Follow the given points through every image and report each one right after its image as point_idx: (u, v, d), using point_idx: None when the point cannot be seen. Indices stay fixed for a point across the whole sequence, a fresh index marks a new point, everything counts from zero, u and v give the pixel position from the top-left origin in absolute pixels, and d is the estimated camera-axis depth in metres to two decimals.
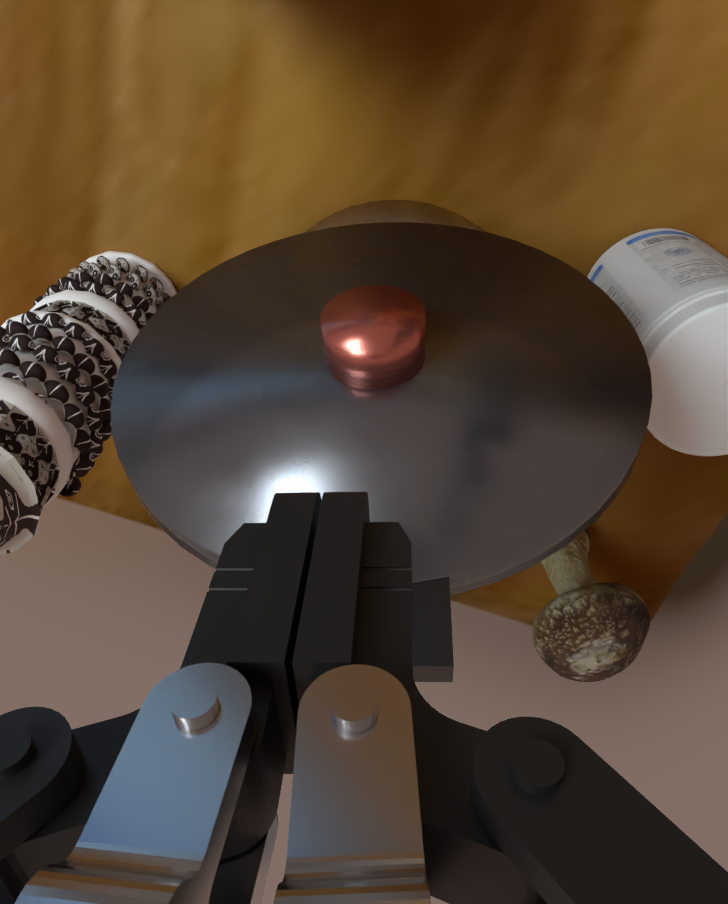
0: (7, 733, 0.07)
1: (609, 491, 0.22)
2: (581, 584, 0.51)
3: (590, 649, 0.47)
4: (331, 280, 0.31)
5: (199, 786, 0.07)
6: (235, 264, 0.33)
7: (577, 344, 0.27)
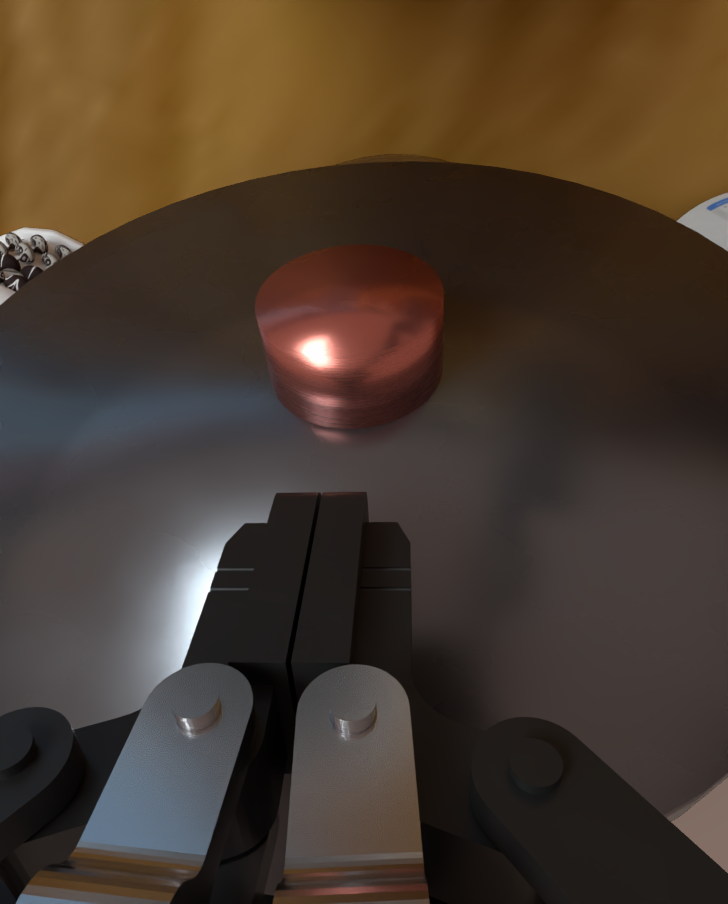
0: (9, 733, 0.07)
1: None
2: None
3: None
4: (291, 245, 0.20)
5: (200, 786, 0.07)
6: (147, 224, 0.21)
7: (707, 345, 0.15)
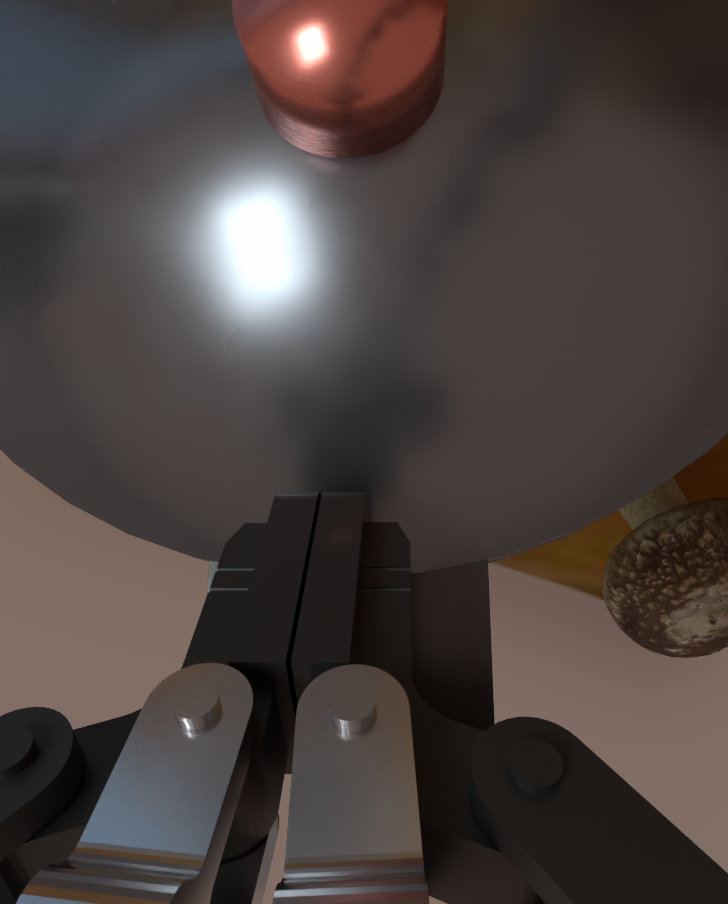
0: (8, 734, 0.07)
1: None
2: None
3: (701, 602, 0.29)
4: None
5: (200, 786, 0.07)
6: None
7: None
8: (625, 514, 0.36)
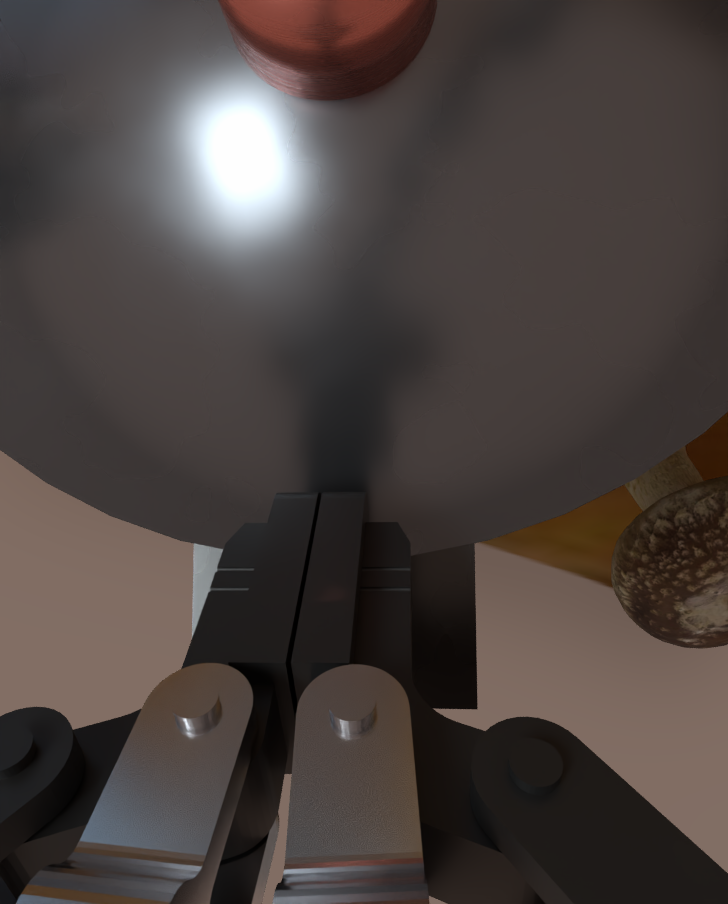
0: (9, 734, 0.07)
1: None
2: None
3: (720, 588, 0.27)
4: None
5: (200, 786, 0.07)
6: None
7: None
8: (635, 494, 0.34)
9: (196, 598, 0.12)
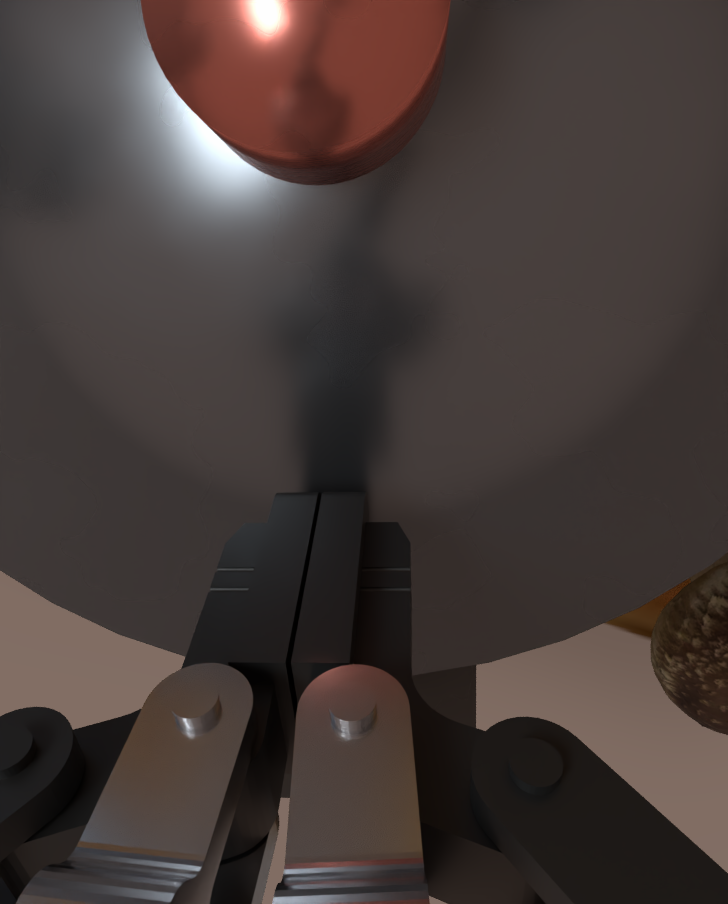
0: (8, 734, 0.07)
1: None
2: None
3: None
4: None
5: (200, 786, 0.07)
6: None
7: None
8: None
9: None
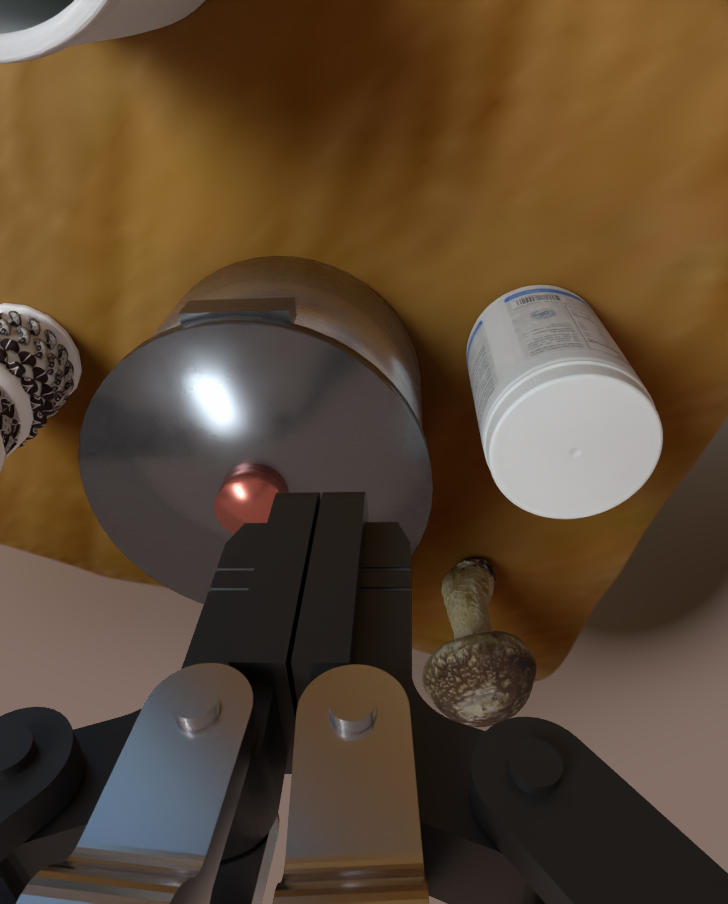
0: (9, 733, 0.07)
1: None
2: (473, 630, 0.51)
3: (473, 698, 0.48)
4: (203, 411, 0.38)
5: (200, 786, 0.07)
6: (113, 386, 0.37)
7: (389, 483, 0.40)
8: None
9: None
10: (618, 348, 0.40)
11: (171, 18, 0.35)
